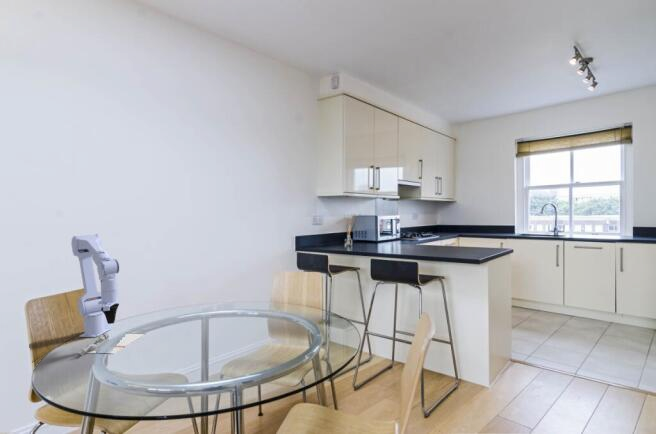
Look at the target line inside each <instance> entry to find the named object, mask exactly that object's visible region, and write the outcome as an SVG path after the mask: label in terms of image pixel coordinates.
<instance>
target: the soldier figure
mask: <svg viewBox="0 0 656 434" xmlns="http://www.w3.org/2000/svg"><path fill="white" fill-rule="evenodd" d="M102 335H103V336H101V335H99V336H98V335H95V336H96V337H95V338H98V339H96V340H95V342H94V343H90V344H87V345H86V347H85V348H80V351H81V352H80V351H77V354H78V355H80V356H83V355H84V354H86V353H85V352H87V351H88V350H95V349H97V348H98V346H99V345H100V344H101V343H103V342H104V341H106V340H108V339H109V337H110V335H109V334H106V333H103V334H102Z"/></svg>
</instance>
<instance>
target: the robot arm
mask: <svg viewBox="0 0 656 434" xmlns="http://www.w3.org/2000/svg"><path fill="white" fill-rule="evenodd" d="M101 246H102V239H101V235H99V234H98V233H95V234H88V235H73V236H72V238H71V249H72V250H71V251H72V253H73V256H75V257H77V259H78V261H79V267H80V273H81V278H82V285H83V292H84V293H83V294H82V295H81V296H80V297H79V298H78V301H77V311H78V313H79V315H80V316H81V317H83V331H84V333H82V334H80V335H79V338H97V337H96V336H95V335H98V336H101V335H103V334H106V333H107V332H109V331H110V330H112V328H111V327H110V324H114V323H115V321H116V317H117V311H118V308H119V306H120V303H119V301H120V299H119V292H118V291H119V289H118V274H119V272H120V264H119V261H118V259H116V258H112V257H111V256H110V254H109V253H108V252H107V251H106V250H103V249H102V247H101ZM94 264H95V265H96V267H97V268H96V269H97V275H98V280H100V281H99V282H100V291H99V290H98V286H97V285H98V284H97V281H96V275H95V268H94Z"/></svg>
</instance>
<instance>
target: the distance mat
mask: <svg viewBox="0 0 656 434" xmlns="http://www.w3.org/2000/svg"><path fill="white" fill-rule="evenodd" d="M128 333H129V334H126V335H125V337H123V338H122V340H120V342H119V343H118V344H117V345H116V346H115V347H114V349H113V351H112V352H111V354H110V355H114V354H117V353H118V352H119V351H121V350H122V349H124V348H126V347H127V346H128V345H130V344H132V343H134V342H135V341H136V340H139V338H141V337H143V336H145V335H146V333H147V332H128ZM84 354H97V353H96V351H95V350H88V351H86V352H85V353H84Z"/></svg>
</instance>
